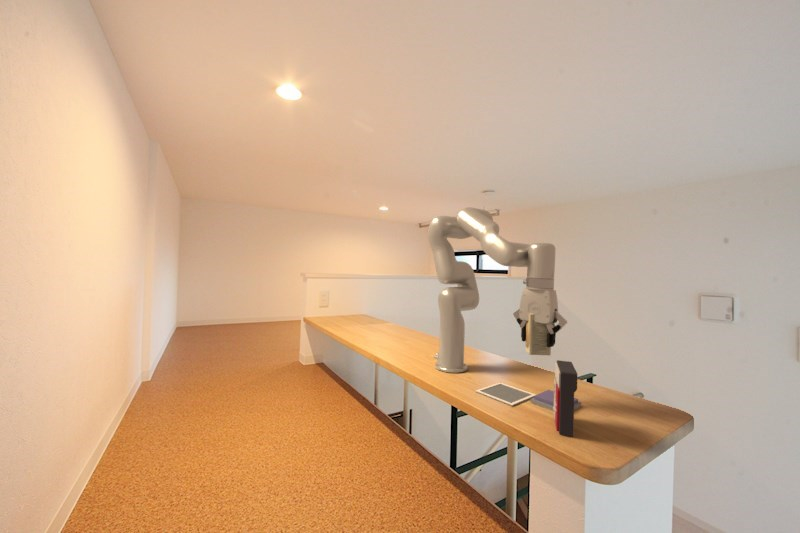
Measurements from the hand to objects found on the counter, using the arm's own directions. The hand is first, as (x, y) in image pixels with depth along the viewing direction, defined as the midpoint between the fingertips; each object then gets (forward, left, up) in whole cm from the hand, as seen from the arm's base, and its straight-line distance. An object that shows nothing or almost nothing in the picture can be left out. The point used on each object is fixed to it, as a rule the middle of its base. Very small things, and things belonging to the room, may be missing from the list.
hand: (537, 343), depth 97 cm
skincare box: (0, 0, -3) cm, 3 cm away
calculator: (+13, -10, -17) cm, 23 cm away
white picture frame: (-8, -4, -17) cm, 19 cm away
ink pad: (+5, +2, -17) cm, 18 cm away
